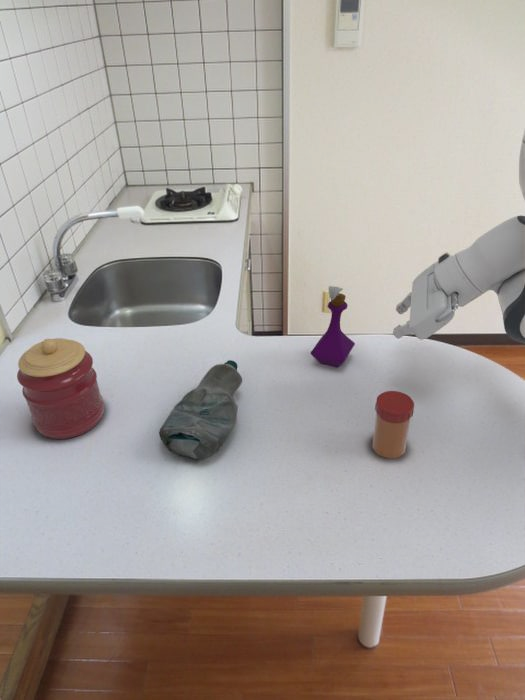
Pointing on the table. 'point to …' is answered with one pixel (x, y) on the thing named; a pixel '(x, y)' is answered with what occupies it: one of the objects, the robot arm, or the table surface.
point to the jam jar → (390, 438)
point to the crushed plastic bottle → (204, 414)
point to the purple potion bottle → (334, 334)
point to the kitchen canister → (60, 388)
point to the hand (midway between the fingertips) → (396, 322)
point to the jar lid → (394, 406)
